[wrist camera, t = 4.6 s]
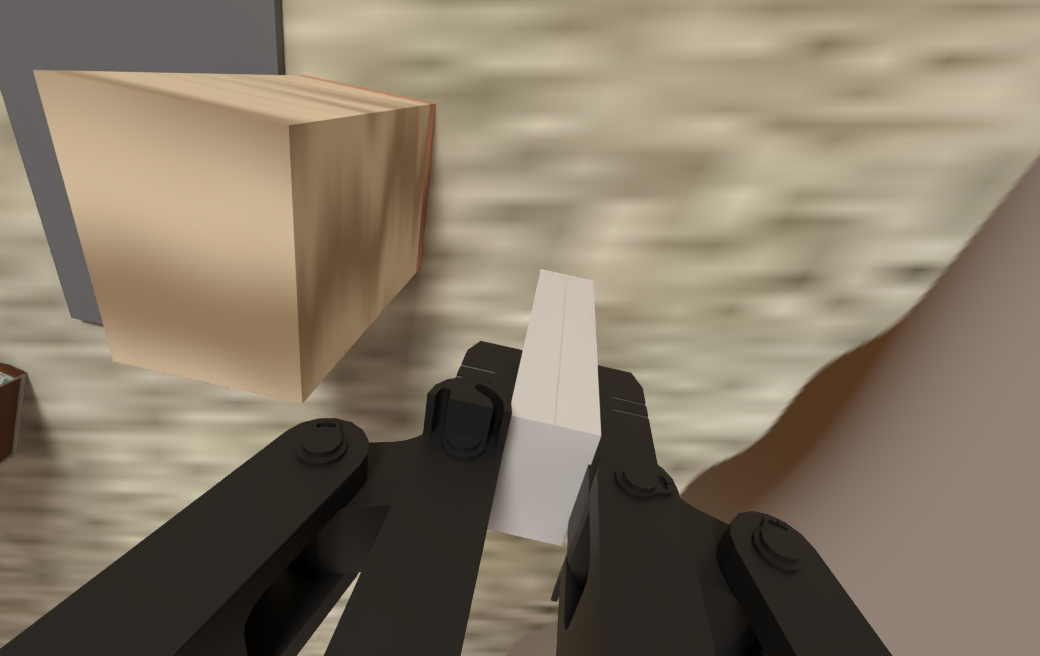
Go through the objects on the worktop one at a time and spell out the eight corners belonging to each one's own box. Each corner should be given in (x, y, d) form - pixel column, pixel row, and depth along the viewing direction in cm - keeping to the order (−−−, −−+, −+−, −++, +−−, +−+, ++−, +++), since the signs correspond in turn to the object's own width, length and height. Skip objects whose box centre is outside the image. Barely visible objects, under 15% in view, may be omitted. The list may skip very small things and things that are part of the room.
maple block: (306, 75, 21) (32, 69, 11) (435, 103, 21) (288, 125, 11) (311, 243, 25) (113, 361, 14) (420, 267, 25) (301, 404, 14)
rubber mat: (-90, -246, 18) (-106, -254, 17) (272, -171, 17) (264, -178, 17) (79, 314, 29) (71, 317, 29) (298, 363, 29) (294, 368, 28)
